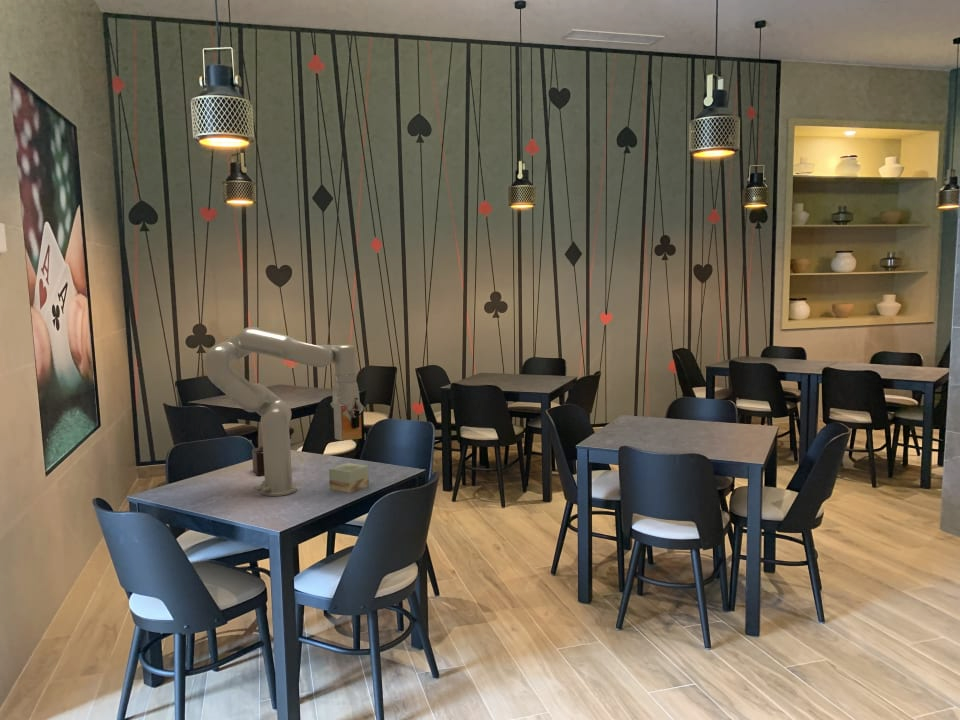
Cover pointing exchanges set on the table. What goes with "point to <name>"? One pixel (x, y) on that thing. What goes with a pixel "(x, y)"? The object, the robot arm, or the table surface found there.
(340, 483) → the tower base block
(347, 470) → the tower top block
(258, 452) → the manual coffee grinder
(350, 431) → the small box
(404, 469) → the table surface
